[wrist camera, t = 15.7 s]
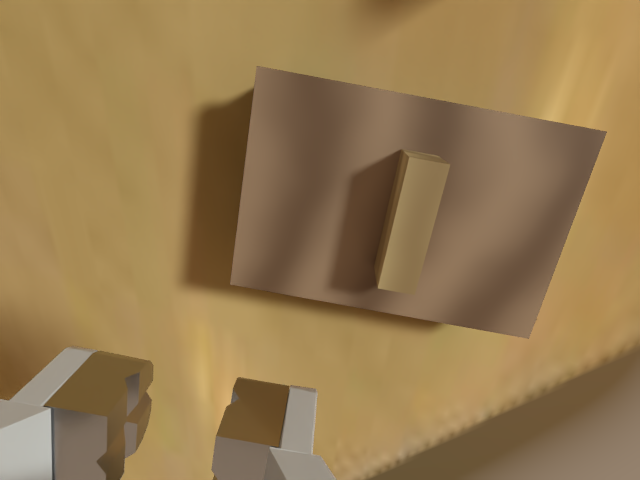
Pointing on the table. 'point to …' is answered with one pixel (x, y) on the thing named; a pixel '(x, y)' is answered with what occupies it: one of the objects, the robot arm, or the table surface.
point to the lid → (406, 202)
